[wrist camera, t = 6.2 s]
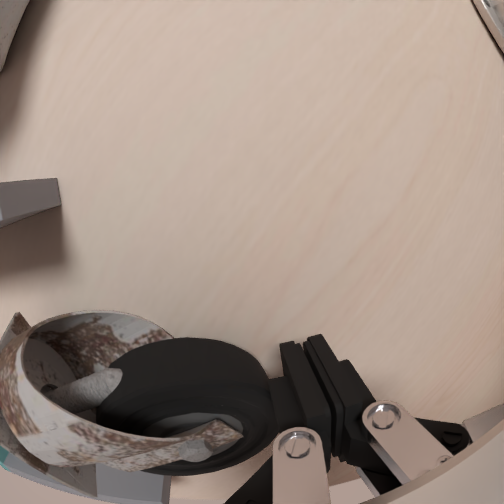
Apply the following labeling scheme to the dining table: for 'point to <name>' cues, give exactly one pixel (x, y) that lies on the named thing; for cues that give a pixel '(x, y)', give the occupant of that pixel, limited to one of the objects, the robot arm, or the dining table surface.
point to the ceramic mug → (9, 24)
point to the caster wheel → (127, 399)
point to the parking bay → (108, 479)
